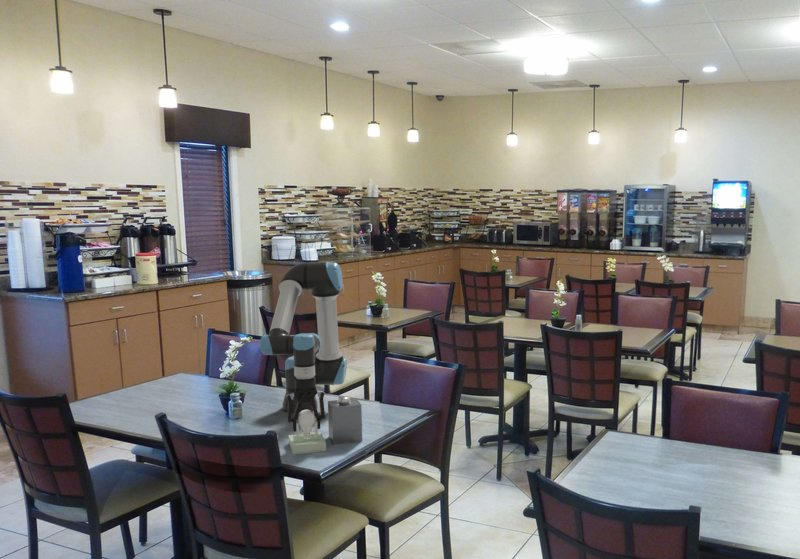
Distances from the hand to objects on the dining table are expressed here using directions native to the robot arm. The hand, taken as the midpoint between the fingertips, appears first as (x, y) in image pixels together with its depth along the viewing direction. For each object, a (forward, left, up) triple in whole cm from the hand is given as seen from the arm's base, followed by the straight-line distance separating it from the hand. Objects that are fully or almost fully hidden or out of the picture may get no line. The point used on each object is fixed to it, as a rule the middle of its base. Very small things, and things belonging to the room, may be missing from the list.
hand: (306, 438), depth 250 cm
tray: (0, 0, -3) cm, 3 cm away
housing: (-4, +15, -3) cm, 16 cm away
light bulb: (0, 0, -1) cm, 1 cm away
